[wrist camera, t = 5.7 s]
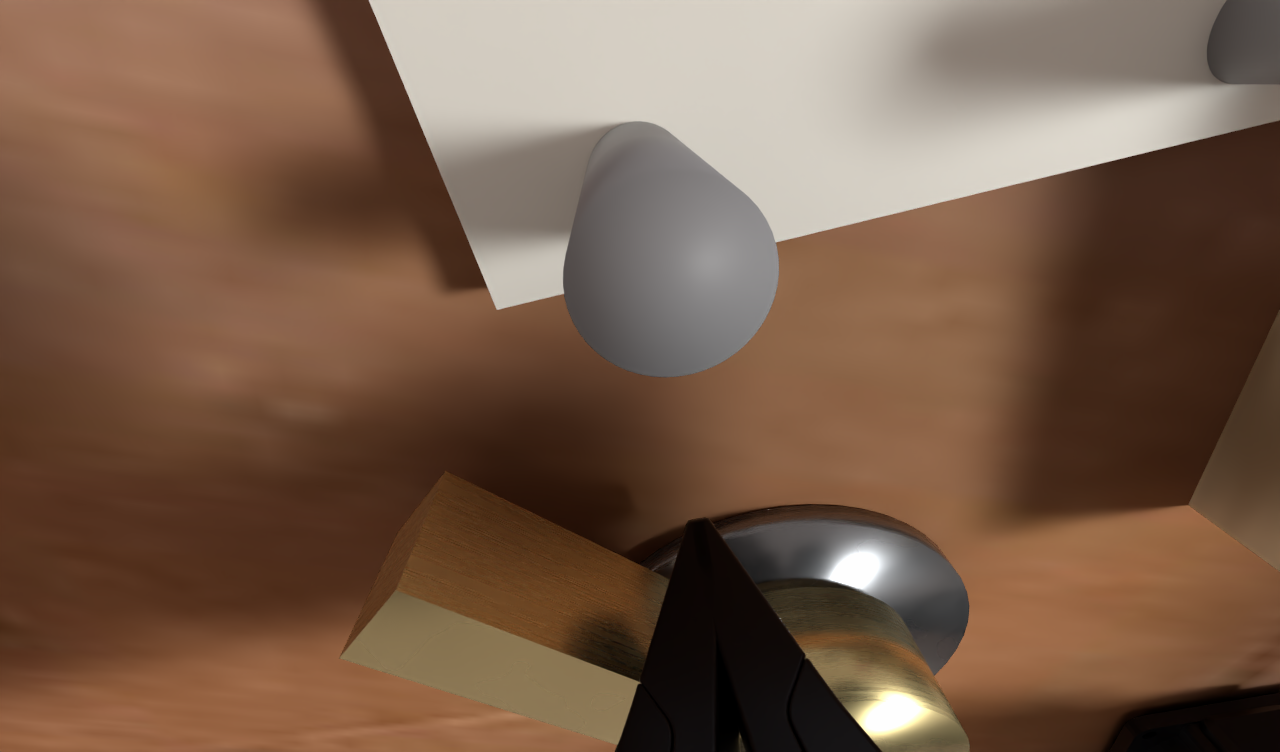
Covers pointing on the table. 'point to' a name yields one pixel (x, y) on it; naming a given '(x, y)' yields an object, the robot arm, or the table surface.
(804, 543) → the base
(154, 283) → the table surface
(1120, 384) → the table surface
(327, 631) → the table surface
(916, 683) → the brass lever handle
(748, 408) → the table surface
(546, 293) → the peg rack
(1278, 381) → the beech bar
